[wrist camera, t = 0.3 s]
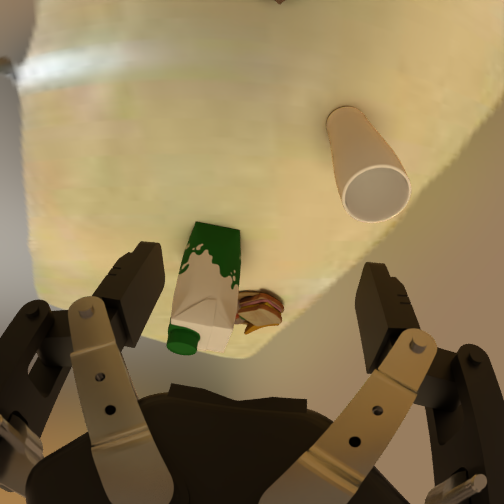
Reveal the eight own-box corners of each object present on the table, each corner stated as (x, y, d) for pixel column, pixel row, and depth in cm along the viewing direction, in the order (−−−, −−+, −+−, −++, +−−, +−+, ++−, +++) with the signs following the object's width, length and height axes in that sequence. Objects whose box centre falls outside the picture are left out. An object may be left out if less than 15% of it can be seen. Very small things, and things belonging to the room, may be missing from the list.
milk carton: (190, 216, 49) (163, 330, 36) (247, 227, 51) (238, 343, 37) (186, 252, 56) (163, 357, 42) (236, 262, 57) (226, 368, 44)
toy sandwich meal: (209, 297, 66) (207, 316, 63) (268, 280, 61) (268, 301, 58) (240, 324, 74) (239, 342, 71) (294, 311, 69) (294, 330, 66)
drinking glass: (379, 133, 37) (420, 206, 27) (335, 154, 40) (358, 234, 30) (357, 90, 33) (399, 151, 23) (309, 115, 36) (327, 185, 26)
